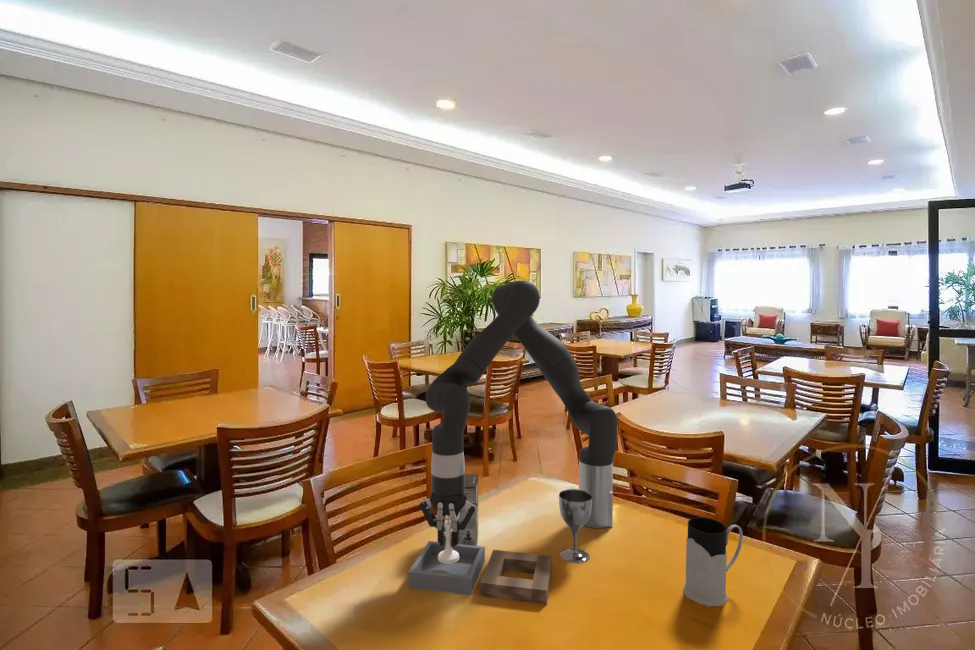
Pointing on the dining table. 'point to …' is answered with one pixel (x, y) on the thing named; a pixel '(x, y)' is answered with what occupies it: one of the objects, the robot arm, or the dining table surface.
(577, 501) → the wine glass
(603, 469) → the robot arm
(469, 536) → the coffee box
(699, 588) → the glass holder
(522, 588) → the socket block
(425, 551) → the tray
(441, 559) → the chess piece
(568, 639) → the dining table surface
